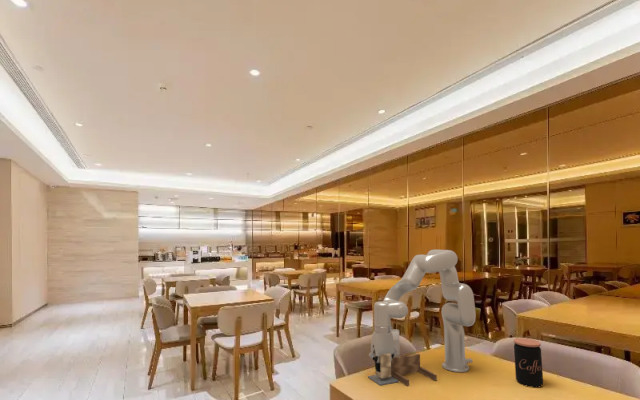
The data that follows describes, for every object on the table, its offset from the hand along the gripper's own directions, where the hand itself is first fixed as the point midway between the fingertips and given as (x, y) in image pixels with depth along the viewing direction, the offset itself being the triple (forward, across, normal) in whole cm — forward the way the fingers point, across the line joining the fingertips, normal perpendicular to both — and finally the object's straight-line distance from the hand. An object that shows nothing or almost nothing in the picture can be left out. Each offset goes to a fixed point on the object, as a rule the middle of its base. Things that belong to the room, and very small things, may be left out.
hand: (383, 369), depth 159 cm
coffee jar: (+5, -59, +28) cm, 65 cm away
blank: (+2, 0, 0) cm, 2 cm away
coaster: (+4, 0, 0) cm, 4 cm away
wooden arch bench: (+4, -14, +4) cm, 15 cm away
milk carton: (+5, -12, -10) cm, 16 cm away
